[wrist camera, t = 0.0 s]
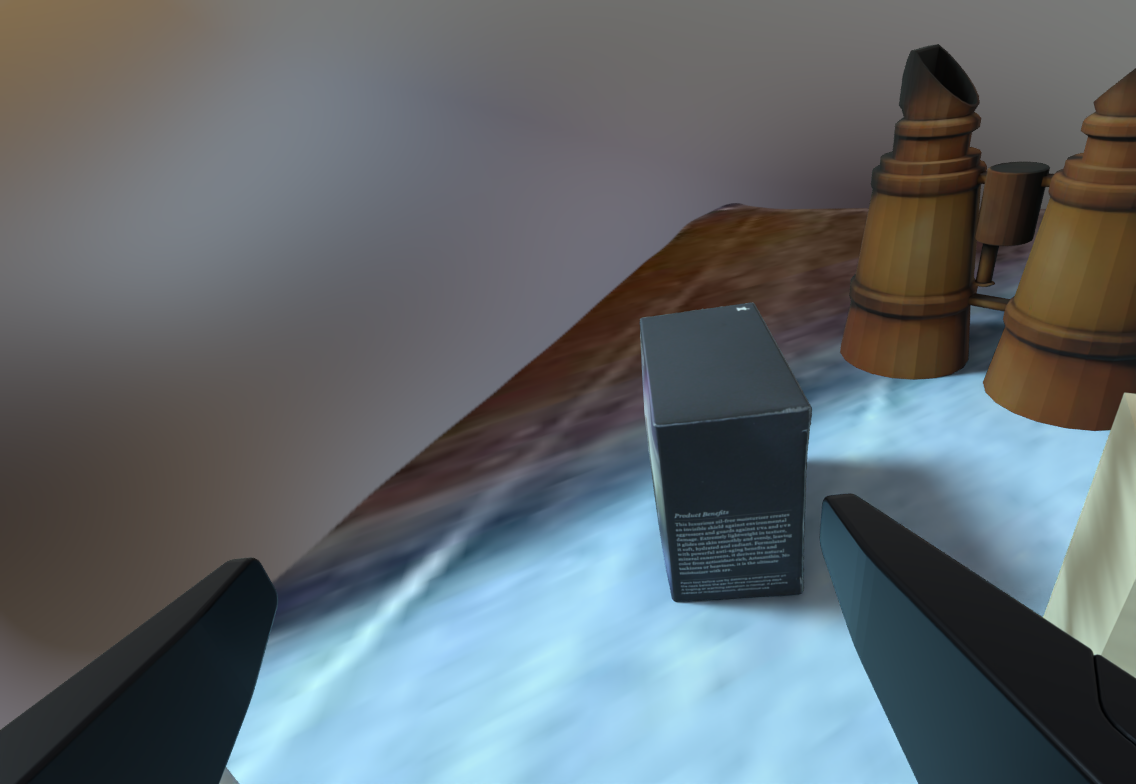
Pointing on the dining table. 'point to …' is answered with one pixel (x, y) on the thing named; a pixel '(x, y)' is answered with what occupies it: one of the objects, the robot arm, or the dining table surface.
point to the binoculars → (1007, 218)
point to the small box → (725, 453)
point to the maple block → (1104, 554)
